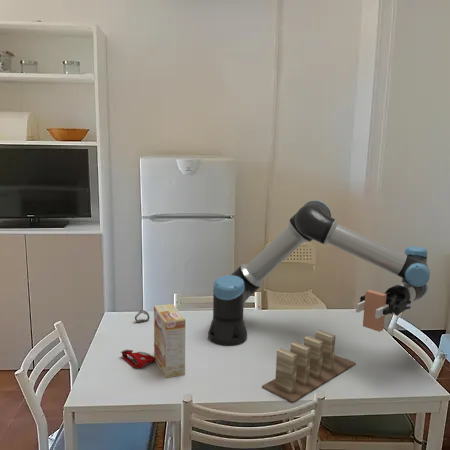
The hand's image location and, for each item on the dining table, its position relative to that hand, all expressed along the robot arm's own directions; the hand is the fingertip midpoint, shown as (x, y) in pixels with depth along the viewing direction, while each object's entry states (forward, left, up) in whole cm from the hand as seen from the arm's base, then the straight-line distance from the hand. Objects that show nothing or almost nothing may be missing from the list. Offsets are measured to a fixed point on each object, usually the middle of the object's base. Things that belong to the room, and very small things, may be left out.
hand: (366, 311), depth 148 cm
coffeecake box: (-62, -10, -24) cm, 68 cm away
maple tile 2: (-16, -1, -23) cm, 28 cm away
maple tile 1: (-12, +5, -23) cm, 27 cm away
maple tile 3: (-19, -7, -23) cm, 31 cm away
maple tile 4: (-23, -13, -23) cm, 35 cm away
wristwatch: (-88, +23, -24) cm, 94 cm away
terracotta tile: (+3, +4, -7) cm, 9 cm away
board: (-16, -1, -24) cm, 29 cm away
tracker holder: (-74, -9, -24) cm, 79 cm away
